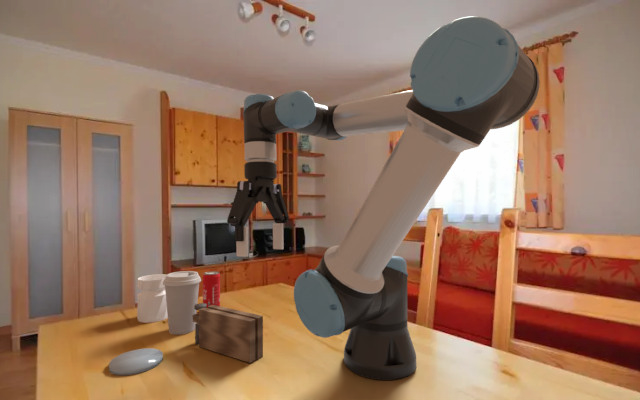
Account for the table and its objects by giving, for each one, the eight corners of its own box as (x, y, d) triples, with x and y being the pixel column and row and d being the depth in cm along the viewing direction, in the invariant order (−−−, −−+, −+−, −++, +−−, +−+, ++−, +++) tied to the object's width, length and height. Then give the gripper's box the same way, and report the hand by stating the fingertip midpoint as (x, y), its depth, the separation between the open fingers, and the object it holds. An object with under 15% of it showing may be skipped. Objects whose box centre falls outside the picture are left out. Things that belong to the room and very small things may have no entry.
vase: (169, 320, 98) (169, 278, 98) (135, 324, 94) (135, 281, 94) (170, 311, 106) (170, 273, 106) (138, 314, 102) (138, 275, 102)
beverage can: (217, 313, 103) (217, 274, 103) (200, 313, 103) (200, 274, 103) (222, 308, 108) (222, 271, 108) (206, 308, 108) (206, 271, 109)
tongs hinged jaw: (255, 359, 72) (255, 318, 72) (250, 362, 71) (250, 321, 71) (196, 341, 82) (196, 305, 82) (190, 343, 80) (190, 307, 80)
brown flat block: (262, 356, 74) (262, 315, 74) (251, 363, 71) (251, 319, 71) (203, 338, 84) (203, 301, 84) (191, 343, 81) (191, 305, 81)
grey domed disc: (172, 359, 73) (172, 354, 73) (125, 380, 64) (126, 375, 64) (145, 349, 78) (145, 344, 78) (99, 367, 70) (99, 362, 70)
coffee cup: (187, 338, 84) (188, 278, 84) (154, 335, 86) (154, 277, 86) (207, 324, 94) (208, 271, 94) (177, 322, 96) (177, 269, 96)
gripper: (277, 168, 92) (278, 246, 92) (209, 157, 70) (210, 259, 69) (301, 166, 89) (302, 247, 88) (236, 153, 67) (238, 261, 66)
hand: (261, 252), depth 79 cm, fingers open, 13 cm apart
